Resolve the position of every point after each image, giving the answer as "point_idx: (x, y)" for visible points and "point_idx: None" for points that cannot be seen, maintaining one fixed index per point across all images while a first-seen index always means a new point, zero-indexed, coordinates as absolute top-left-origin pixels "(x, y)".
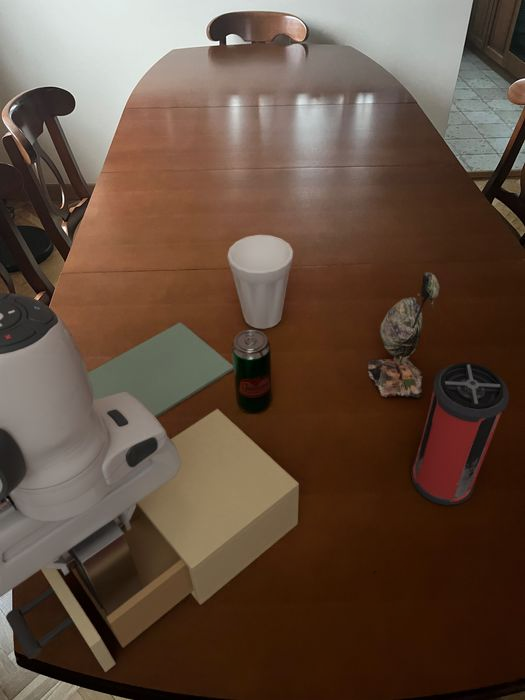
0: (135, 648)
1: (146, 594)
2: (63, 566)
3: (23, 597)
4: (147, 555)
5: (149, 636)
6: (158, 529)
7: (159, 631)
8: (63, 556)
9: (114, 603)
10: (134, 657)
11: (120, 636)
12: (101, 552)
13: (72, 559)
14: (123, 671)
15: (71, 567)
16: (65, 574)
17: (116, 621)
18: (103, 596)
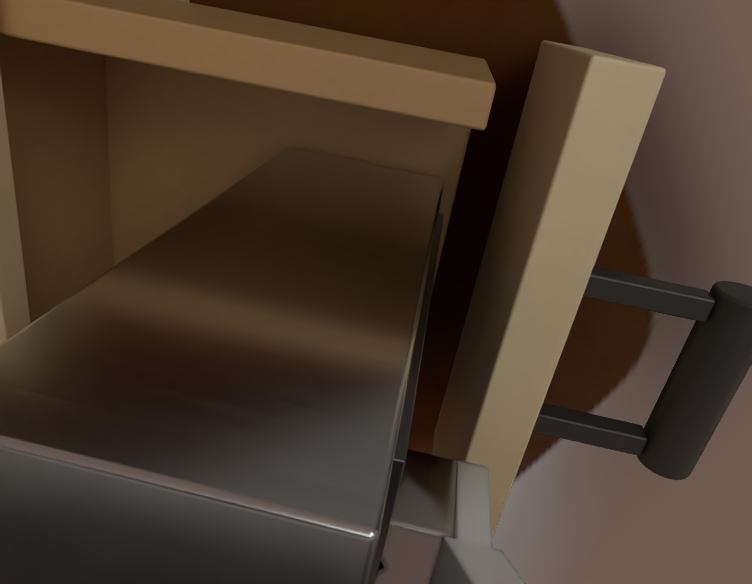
0: (452, 36)
1: (258, 39)
2: (473, 545)
3: (544, 438)
4: None
5: (391, 26)
6: (2, 246)
7: (356, 9)
8: (423, 579)
9: (396, 188)
10: (477, 14)
11: (476, 63)
12: (188, 444)
13: (399, 527)
14: (537, 8)
15: (434, 479)
16: (484, 472)
17: (463, 73)
18: (413, 228)
